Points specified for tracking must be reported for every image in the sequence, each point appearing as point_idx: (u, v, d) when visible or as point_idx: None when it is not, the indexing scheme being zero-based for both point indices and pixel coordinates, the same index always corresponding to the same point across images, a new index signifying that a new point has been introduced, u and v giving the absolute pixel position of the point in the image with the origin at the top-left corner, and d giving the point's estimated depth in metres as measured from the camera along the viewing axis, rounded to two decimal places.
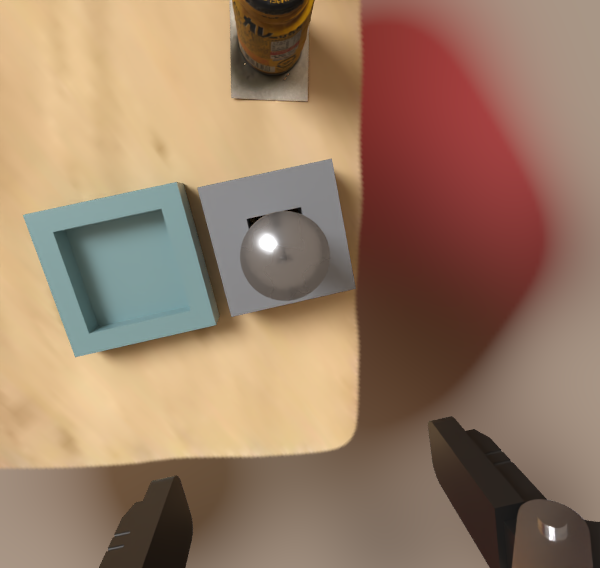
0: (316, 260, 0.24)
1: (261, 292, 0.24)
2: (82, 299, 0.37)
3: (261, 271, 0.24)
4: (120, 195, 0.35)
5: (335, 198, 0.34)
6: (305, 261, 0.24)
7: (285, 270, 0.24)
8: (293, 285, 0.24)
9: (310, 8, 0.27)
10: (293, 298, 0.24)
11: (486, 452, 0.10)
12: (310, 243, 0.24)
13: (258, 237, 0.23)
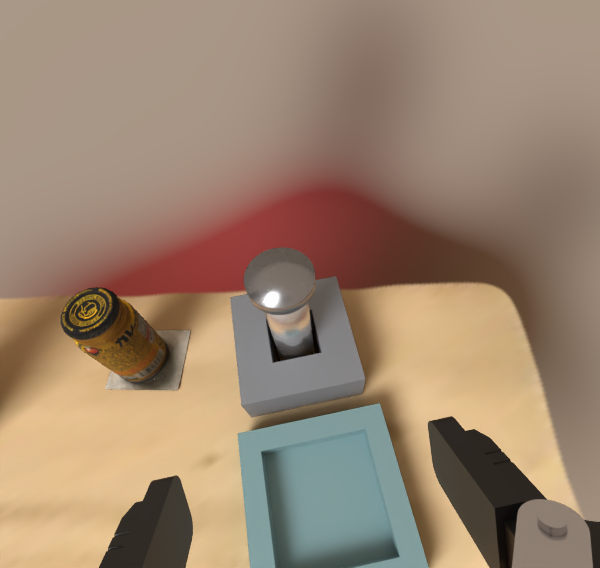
0: (283, 255, 0.31)
1: (307, 292, 0.29)
2: (359, 564, 0.31)
3: (289, 292, 0.29)
4: (244, 494, 0.34)
5: None
6: (283, 263, 0.30)
7: (290, 275, 0.30)
8: (302, 270, 0.30)
9: (122, 300, 0.39)
10: (313, 270, 0.30)
11: (486, 452, 0.10)
12: (269, 260, 0.31)
13: (262, 294, 0.29)
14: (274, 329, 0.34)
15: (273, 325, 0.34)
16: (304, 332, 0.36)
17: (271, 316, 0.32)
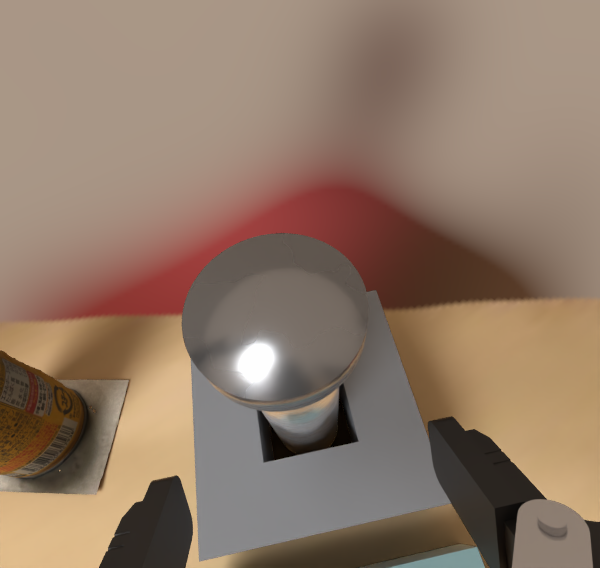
0: (284, 253, 0.12)
1: (351, 353, 0.10)
2: None
3: (303, 353, 0.11)
4: None
5: None
6: (285, 271, 0.12)
7: (302, 305, 0.11)
8: (335, 290, 0.12)
9: None
10: (362, 290, 0.11)
11: (486, 452, 0.10)
12: (250, 264, 0.12)
13: (227, 358, 0.11)
14: (265, 412, 0.16)
15: None
16: (329, 412, 0.17)
17: None
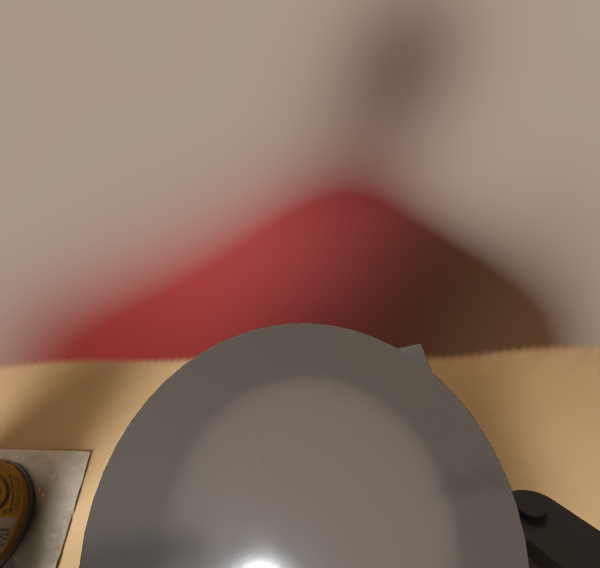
0: (314, 372, 0.06)
1: None
2: None
3: None
4: None
5: None
6: (318, 419, 0.06)
7: (362, 519, 0.05)
8: (435, 478, 0.05)
9: None
10: (500, 480, 0.05)
11: None
12: (243, 397, 0.06)
13: None
14: None
15: None
16: None
17: None
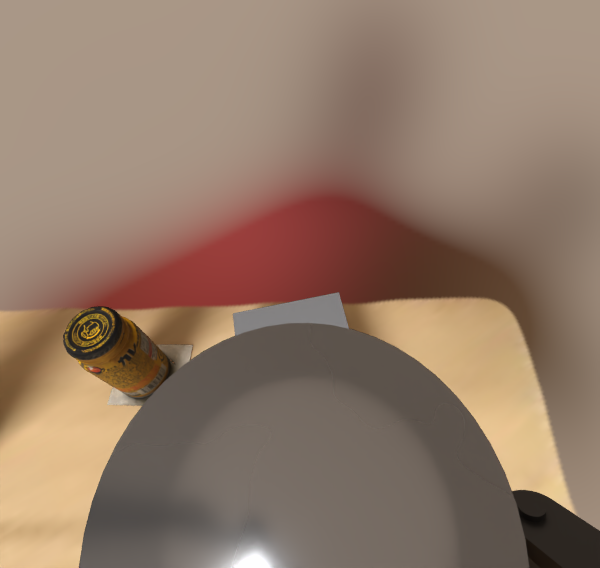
0: (314, 371, 0.06)
1: None
2: None
3: None
4: None
5: (263, 310, 0.42)
6: (317, 418, 0.06)
7: (362, 518, 0.05)
8: (435, 478, 0.05)
9: (124, 317, 0.38)
10: (500, 480, 0.05)
11: None
12: (242, 397, 0.06)
13: None
14: None
15: None
16: None
17: None
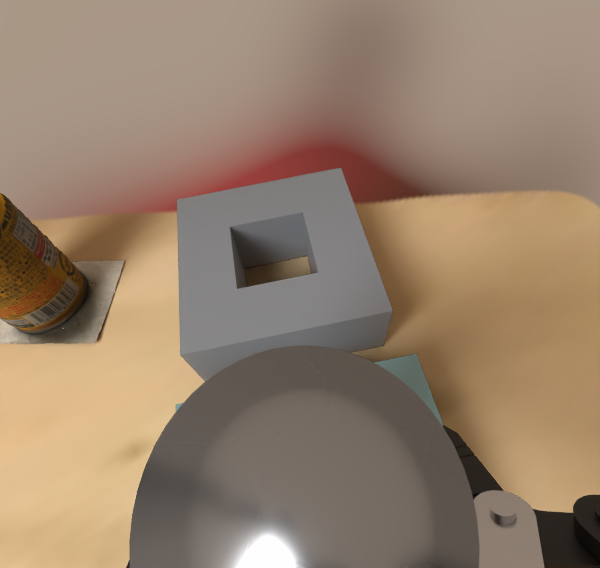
0: (314, 386, 0.07)
1: None
2: None
3: None
4: None
5: (224, 193, 0.27)
6: (316, 424, 0.07)
7: (350, 503, 0.06)
8: (408, 472, 0.06)
9: None
10: (459, 472, 0.06)
11: None
12: (256, 407, 0.07)
13: None
14: None
15: None
16: None
17: None
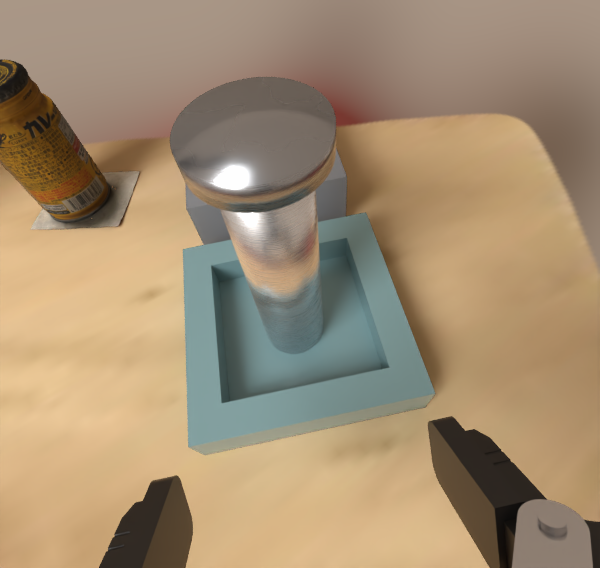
0: (263, 90, 0.14)
1: (318, 153, 0.12)
2: None
3: (276, 154, 0.12)
4: (186, 309, 0.26)
5: None
6: (263, 102, 0.13)
7: (277, 123, 0.13)
8: (307, 113, 0.13)
9: None
10: (331, 112, 0.13)
11: (486, 452, 0.10)
12: (232, 98, 0.14)
13: (209, 160, 0.12)
14: (249, 268, 0.17)
15: (246, 258, 0.17)
16: (309, 277, 0.19)
17: (240, 233, 0.15)
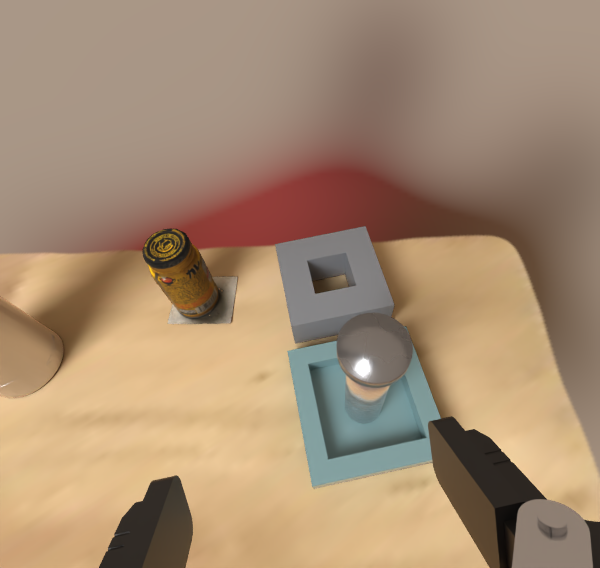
0: (375, 322, 0.29)
1: (407, 365, 0.27)
2: None
3: (388, 365, 0.28)
4: (296, 395, 0.41)
5: (301, 241, 0.49)
6: (376, 330, 0.29)
7: (385, 345, 0.28)
8: (398, 339, 0.28)
9: None
10: (409, 339, 0.28)
11: (486, 452, 0.10)
12: (361, 326, 0.29)
13: (358, 367, 0.28)
14: (356, 392, 0.33)
15: (357, 389, 0.32)
16: (385, 393, 0.34)
17: None
